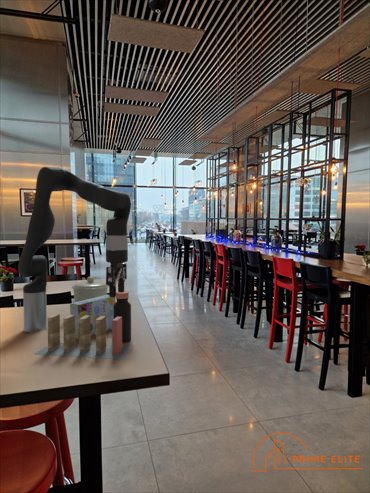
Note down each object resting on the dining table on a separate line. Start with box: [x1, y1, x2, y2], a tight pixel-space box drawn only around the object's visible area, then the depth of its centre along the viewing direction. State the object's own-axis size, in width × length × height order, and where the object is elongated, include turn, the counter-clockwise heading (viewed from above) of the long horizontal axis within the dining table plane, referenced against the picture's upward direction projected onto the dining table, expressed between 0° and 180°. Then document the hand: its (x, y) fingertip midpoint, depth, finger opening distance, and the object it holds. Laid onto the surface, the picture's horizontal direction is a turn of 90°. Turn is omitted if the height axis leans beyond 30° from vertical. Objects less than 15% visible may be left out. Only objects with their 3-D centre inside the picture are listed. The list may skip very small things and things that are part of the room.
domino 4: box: [95, 316, 107, 354], centre depth 112 cm, size 2×5×12 cm, turn 172°
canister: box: [71, 276, 109, 303], centre depth 160 cm, size 18×18×21 cm
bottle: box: [114, 290, 132, 344], centre depth 123 cm, size 7×7×20 cm
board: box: [34, 342, 134, 360], centre depth 113 cm, size 32×12×1 cm, turn 82°
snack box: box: [69, 294, 117, 340], centre depth 135 cm, size 21×6×15 cm, turn 149°
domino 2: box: [62, 314, 76, 352], centre depth 113 cm, size 2×5×12 cm, turn 172°
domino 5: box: [111, 317, 123, 355], centre depth 111 cm, size 2×5×12 cm, turn 172°
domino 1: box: [47, 313, 61, 351], centre depth 114 cm, size 2×5×12 cm, turn 172°
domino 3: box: [79, 315, 92, 353], centre depth 112 cm, size 2×5×12 cm, turn 172°
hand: (117, 294), depth 110 cm, fingers open, 8 cm apart
